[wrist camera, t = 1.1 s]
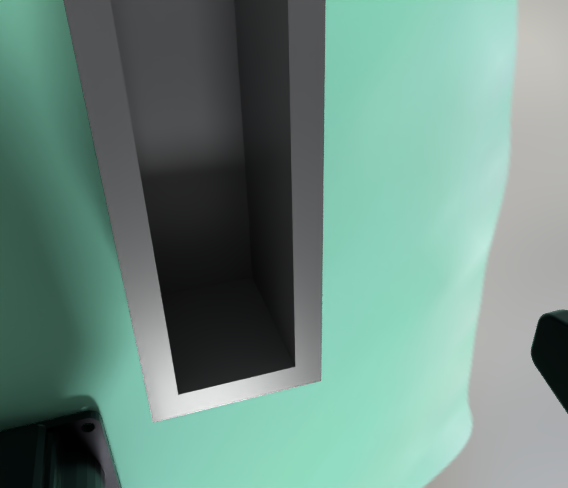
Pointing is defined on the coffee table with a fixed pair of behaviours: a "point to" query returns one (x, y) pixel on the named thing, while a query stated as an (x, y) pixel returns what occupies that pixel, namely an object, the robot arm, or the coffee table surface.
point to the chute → (212, 187)
